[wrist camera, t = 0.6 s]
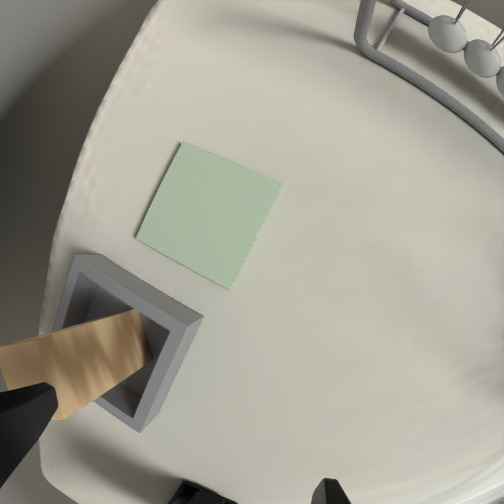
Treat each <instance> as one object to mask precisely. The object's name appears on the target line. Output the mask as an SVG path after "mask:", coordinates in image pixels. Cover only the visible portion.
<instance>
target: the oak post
mask: <svg viewBox="0 0 504 504" xmlns="http://www.w3.org/2000/svg"><path fill="white" fill-rule="evenodd" d="M153 359H154V357H153V354H152V351H151V348H150V345H149V342H148V339H147V336H146V333H145V330H144V327H143V324H142V321H141V317H140V314H139V311H137V310H136V309H132V310H128V311H125V312H121V313H117V314H113V315H109V316H105V317H102V318H98V319H94V320H91V321H88V322H84V323H81V324H78V325H74V326H71V327H68V328H64V329H61V330H58V331H54V332H51V333H47V334H44V335H40V336H37V337H34V338H30V339H27V340H23V341H20V342H16V343H13V344H10V345H6V346H2V347H0V368H1V371H2V374H3V376H4V379H5V382H6V385H7V387H8V390H13V389H17V388H22V387H26V386H30V385H34V384H38V383H42V382H47V383H49V384H50V385H52V386H54V387H55V389H56V394H57V399H58V408H57V410H56V412H55V414H54V415H53V417H52V418H51V420H62V421H63V420H65V419H66V418H68V417H69V416H71V415H72V414H74V413H75V412H77V411H79V410H80V409H82V408H83V407H85V406H86V405H88V404H89V403H91V402H92V401H93V400H95V399H96V398H98V397H99V396H101V395H102V394H104V393H105V392H107V391H108V390H110V389H111V388H113V387H114V386H116V385H117V384H119V383H120V382H121V381H123V380H124V379H126V378H127V377H129V376H130V375H132V374H133V373H135V372H136V371H137V370H139V369H140V368H142V367H143V366H145V365H146V364H147V363H149V362H150V361H152V360H153Z"/></svg>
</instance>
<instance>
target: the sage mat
mask: <svg viewBox="0 0 504 504" xmlns="http://www.w3.org/2000/svg"><path fill="white" fill-rule="evenodd" d="M281 187H282V183H280V182H277V181H275V180H273V179H271V178H269V177H266V176H264V175H262V174H260V173H257V172H255V171H253V170H251V169H248V168H246V167H244V166H242V165H239V164H237V163H235V162H232V161H230V160H228V159H225V158H223V157H220V156H218V155H216V154H213V153H211V152H208V151H206V150H203V149H201V148H198V147H196V146H193V145H191V144H188V143H186V142H182V144H181V146H180V148H179V150H178V152H177V154H176V156H175V157H174V159H173V161H172V163H171V165H170V167H169V169H168V171H167V173H166V175H165V177H164V179H163V181H162V183H161V185H160V187H159V189H158V191H157V193H156V195H155V197H154V199H153V202H152V204H151V206H150V208H149V210H148V212H147V214H146V217H145V219H144V221H143V223H142V225H141V228H140V230H139V232H138V234H137V237H136V239H137V240H139V241H141V242H143V243H144V244H146V245H148V246H150V247H151V248H153V249H155V250H157V251H159V252H160V253H162V254H164V255H166V256H168V257H169V258H171V259H173V260H175V261H177V262H178V263H180V264H182V265H184V266H186V267H188V268H189V269H191V270H193V271H195V272H197V273H199V274H200V275H202V276H204V277H206V278H208V279H210V280H212V281H213V282H215V283H217V284H219V285H221V286H223V287H225V288H227V289H229V290H230V289H231V288H232V286H233V284H234V282H235V280H236V278H237V276H238V274H239V272H240V270H241V268H242V266H243V264H244V262H245V259H246V257H247V255H248V253H249V251H250V249H251V247H252V245H253V243H254V241H255V239H256V237H257V235H258V233H259V231H260V229H261V227H262V225H263V223H264V221H265V219H266V217H267V215H268V213H269V211H270V209H271V207H272V205H273V203H274V201H275V199H276V197H277V195H278V193H279V191H280V189H281Z"/></svg>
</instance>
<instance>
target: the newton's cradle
mask: <svg viewBox="0 0 504 504" xmlns="http://www.w3.org/2000/svg"><path fill="white" fill-rule="evenodd" d="M390 1H391V2H392V4H394V5H395V6H396V7H397V8H398V9H400V11H399V12H398V14H397V16H396V17H395V19H394V21H393V22H392V24H391V25H390V27H389V29H388V30H387V32H386V33H385V35H384V37H383V38H382V40H381V42H380V43H379V45H378V46H377V48H376V49H374V48H373V47H372V46H371V45H370V44H369V43H368V42H367V39H366V36H367V32H368V29H369V25H370V21H371V18H372V14H373V10H374V6H375V2H376V0H361V2H360V7H359V12H358V17H357V21H356V26H355V31H354V41H355V43H356V45H357V47H358V48H359V49H360V51H361V52H362V53H363V54H365V55H366V56H367V57H369V58H370V59H372V60H374V61H375V62H377V63H379V64H381V65H383V66H385V67H386V68H388V69H390V70H392V71H393V72H395V73H397V74H398V75H400V76H402V77H403V78H405V79H407V80H408V81H410V82H412V83H413V84H415V85H416V86H418V87H419V88H421V89H423V90H424V91H426V92H427V93H429V94H430V95H432V96H433V97H434V98H436V99H437V100H439V101H440V102H442V103H443V104H444V105H446V106H447V107H449V108H450V109H451V110H453V111H454V112H455V113H457V114H458V115H459V116H461V117H462V118H463V119H465V120H466V121H467V122H468V123H470V124H471V125H472V126H473V127H475V128H476V129H477V130H478V131H479V132H481V133H482V134H483V135H484V136H485V137H487V138H488V139H489V140H490V141H491V142H492V143H493V144H495V145H496V146H497V147H498V148H499V149H500V150H501V151H502V152H503V153H504V139H503V138H502V137H501V136H500V135H499V134H498V133H496V132H495V131H494V130H493V129H492V128H491V127H490V126H488V125H487V124H486V123H485V122H484V121H482V120H481V119H480V118H479V117H478V116H476V115H475V114H474V113H473V112H471V111H470V110H469V109H468V108H466V107H465V106H464V105H462V104H461V103H460V102H458V101H457V100H456V99H454V98H453V97H452V96H450V95H449V94H447V93H446V92H445V91H443V90H442V89H440V88H439V87H437V86H436V85H434V84H433V83H431V82H430V81H428V80H427V79H425V78H424V77H422V76H421V75H419V74H417V73H416V72H414V71H413V70H411V69H409V68H408V67H406V66H404V65H403V64H401V63H399V62H397V61H396V60H394V59H392V58H390V57H389V56H387V55H385V54H383V53H381V52H379V51H380V50H381V48H382V46H383V45H384V43H385V41H386V40H387V38H388V36H389V35H390V33H391V31H392V30H393V28H394V26H395V25H396V23H397V22H398V20H399V18H400V17H401V15H402V13H403V12H405V13H407V14H409V15H411V16H412V17H414V18H416V19H418V20H420V21H421V22H423V23H425V24H427V25H428V26H429V36H430V38H431V40H432V42H433V43H434V44H435V46H437V47H438V48H439V49H441V50H442V51H445V52H448V53H456V52H459V51H461V50H462V49H463V48H464V49H465V50H464V59H465V62H466V64H467V66H468V67H469V69H470V70H471V71H472V72H473V73H475V74H476V75H478V76H480V77H484V78H490V77H493V76H495V75H496V74H497V78H496V82H497V87H498V90H499V91H500V93H501V95H502V96H503V97H504V67H501V61H500V56H499V54H498V52H497V50H496V49H495V47H496V46H497V45H498V44H499V43H500V42H501V41H502V40H503V39H504V37H503V38H502V39H501V40H500V41H499V42H497V43H496V41H497V40H498V39H499V37H500V36H501V35H502V33H503V32H504V29H503V30H502V31H501V33H500V34H499V35H498V37H497V38H496V40H495V41H494V42H493V44H492V45H491V44H490V43H488V42H486V41H484V40H479V39H477V40H472V41H470V42H468V41H467V34H466V31H465V29H464V27H463V26H462V25H461V23H460V22H459V21H458V20H459V18H460V17H461V15H462V14H463V12H464V10H465V9H466V7H467V6H468V4H469V3H470V1H471V0H466V1H465V3H464V5H463V7H462V8H461V10H460V12H459V14H458V15H457V17H456V19H454V18H452V17H450V16H446V15H441V16H437V17H435V18H434V19H433V18H431V17H430V16H428V15H426V14H424V13H423V12H421V11H419V10H417V9H415V8H414V7H412V6H410V5H408V4H406V3H404V2H403V1H402V0H390ZM466 3H467V4H466ZM495 43H496V44H495ZM494 44H495V45H494ZM493 45H494V46H493Z"/></svg>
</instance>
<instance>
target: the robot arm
mask: <svg viewBox="0 0 504 504" xmlns="http://www.w3.org/2000/svg"><path fill="white" fill-rule="evenodd" d="M57 408H58V399H57V394H56V389H55V387H54V386H52V385H50V384H49V383H47V382H42V383H38V384H34V385H30V386H26V387H22V388H17V389H13V390H9V391H5V392H0V488H1V487H2V485H3V484H4V483H5V481H6V480H7V479H8V477H9V476H10V475H11V474H12V472H13V471H14V470H15V468H16V467H17V466H18V464H19V463H20V462H21V461H22V459H23V458H24V457H25V456H26V454H27V453H28V452H29V450H30V449H31V448H32V447H33V445H34V444H35V443H36V442H37V440H38V439H39V437H40V436H41V434H42V433H43V431H44V430H45V428H46V426H47V425H48V423H49V421H50V420H51V418H52V417H53V415H54V414H55V412H56V410H57ZM186 485H187V486H186ZM168 504H237V503H234V502H232V501H229V500H227V499H225V498H222V497H220V496H218V495H216V494H213V493H211V492H209V491H207V490H205V489H202V488H200V487H198V486H196V485H194V484H192V483H190V482H188V481H183V482H182V483H181V485H180V486H179V488H178V489H177V491H176V492H175V494H174V496H173V497H172V499H171V500H170V502H169V503H168ZM311 504H351V503H350V501H349V499H348V497H347V496H346V494H345V492H344V491H343V489H342V487H341V486H340V484H339V482H338V481H337V480H336V479H331V478H324V479H322V481H321V482H320V484H319V485H318V486H317V488H316V489H315V491H314V493H313V496H312V501H311Z"/></svg>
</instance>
